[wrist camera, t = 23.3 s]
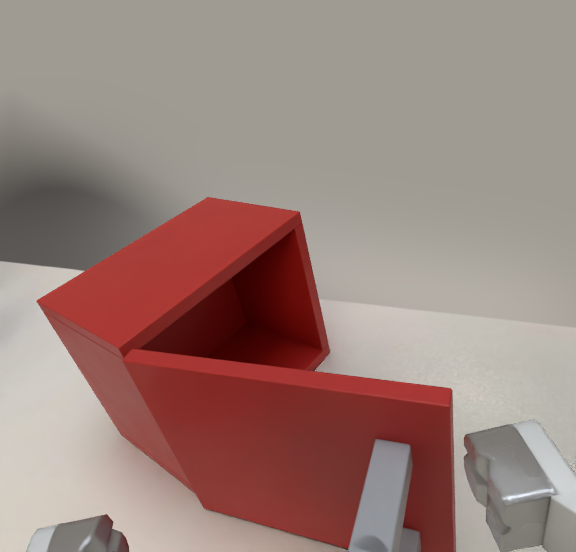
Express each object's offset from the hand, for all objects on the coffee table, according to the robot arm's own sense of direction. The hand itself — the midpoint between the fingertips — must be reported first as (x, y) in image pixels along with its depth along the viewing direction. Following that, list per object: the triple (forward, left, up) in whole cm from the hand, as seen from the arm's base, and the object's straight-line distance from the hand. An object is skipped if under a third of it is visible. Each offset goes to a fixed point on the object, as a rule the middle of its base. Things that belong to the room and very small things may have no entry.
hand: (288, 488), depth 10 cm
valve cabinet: (-12, -22, -21) cm, 33 cm away
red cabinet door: (-3, -7, -21) cm, 22 cm away
